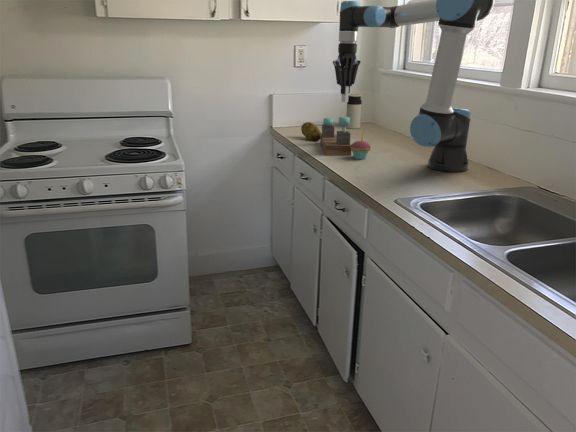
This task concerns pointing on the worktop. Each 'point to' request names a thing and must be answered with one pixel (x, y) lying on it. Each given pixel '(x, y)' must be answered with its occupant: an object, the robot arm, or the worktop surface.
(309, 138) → the potato
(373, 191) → the worktop surface
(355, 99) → the travel mug
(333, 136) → the mount
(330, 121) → the knob far
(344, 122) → the knob near
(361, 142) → the cupcake
